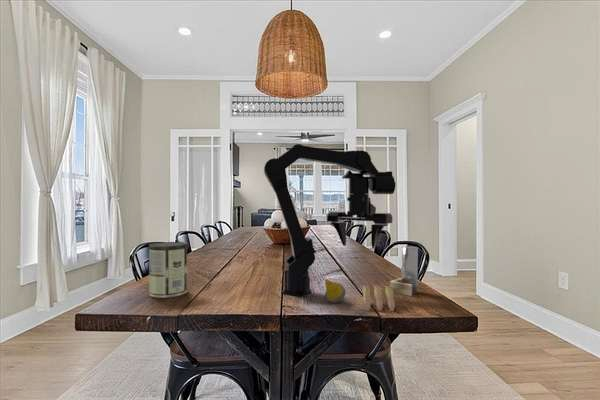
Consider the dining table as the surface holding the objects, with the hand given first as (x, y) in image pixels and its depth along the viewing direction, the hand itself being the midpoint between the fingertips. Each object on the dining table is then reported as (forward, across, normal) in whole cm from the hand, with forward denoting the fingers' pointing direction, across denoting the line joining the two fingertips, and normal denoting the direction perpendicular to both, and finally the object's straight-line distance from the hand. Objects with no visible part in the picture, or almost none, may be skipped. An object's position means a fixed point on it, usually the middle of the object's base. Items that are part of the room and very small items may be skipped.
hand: (358, 246), depth 106 cm
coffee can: (+13, +44, +33) cm, 57 cm away
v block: (+13, -10, -6) cm, 18 cm away
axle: (+13, -13, -8) cm, 20 cm away
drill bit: (+13, 0, +15) cm, 20 cm away
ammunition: (+13, -11, +12) cm, 21 cm away
